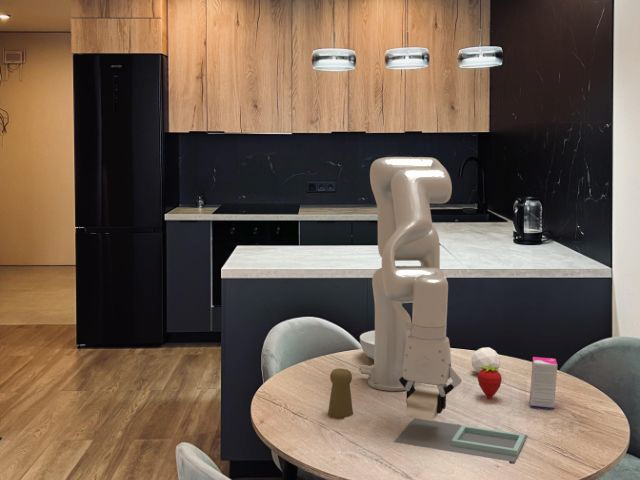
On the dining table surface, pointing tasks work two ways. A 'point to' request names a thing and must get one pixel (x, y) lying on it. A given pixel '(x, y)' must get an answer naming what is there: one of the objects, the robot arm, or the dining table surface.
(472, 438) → the charcoal mat
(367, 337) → the serving bowl
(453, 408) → the dining table surface
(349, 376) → the cork
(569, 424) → the dining table surface
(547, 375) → the supplement box
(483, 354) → the geometric ball
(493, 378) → the strawberry
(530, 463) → the dining table surface
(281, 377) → the dining table surface
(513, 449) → the teal frame
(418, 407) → the beige block
